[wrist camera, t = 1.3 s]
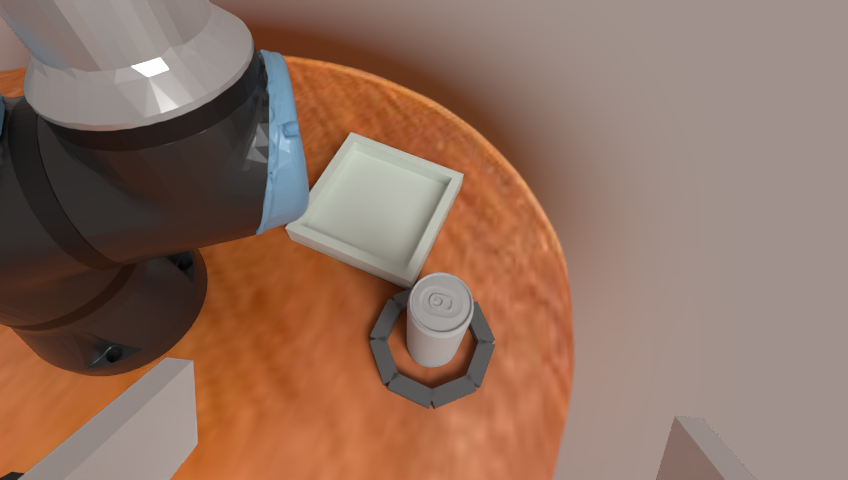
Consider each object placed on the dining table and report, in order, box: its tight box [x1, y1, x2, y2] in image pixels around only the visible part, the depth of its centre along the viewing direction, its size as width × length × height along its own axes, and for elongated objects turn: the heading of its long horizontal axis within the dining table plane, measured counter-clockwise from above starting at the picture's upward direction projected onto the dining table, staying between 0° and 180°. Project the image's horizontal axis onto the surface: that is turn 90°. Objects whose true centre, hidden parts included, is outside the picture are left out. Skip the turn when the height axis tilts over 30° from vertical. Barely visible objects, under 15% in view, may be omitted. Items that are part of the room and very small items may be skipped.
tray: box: [285, 132, 464, 290], centre depth 46 cm, size 14×14×2 cm
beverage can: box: [407, 272, 474, 367], centre depth 35 cm, size 5×5×12 cm
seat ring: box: [369, 288, 495, 409], centre depth 40 cm, size 11×11×1 cm
